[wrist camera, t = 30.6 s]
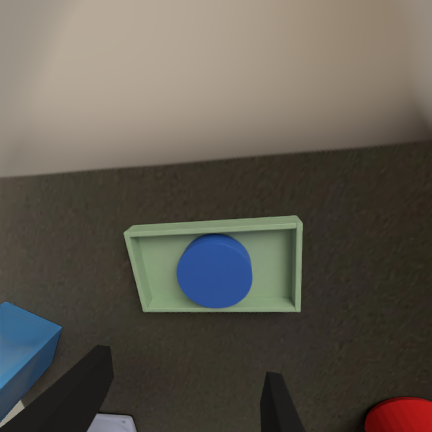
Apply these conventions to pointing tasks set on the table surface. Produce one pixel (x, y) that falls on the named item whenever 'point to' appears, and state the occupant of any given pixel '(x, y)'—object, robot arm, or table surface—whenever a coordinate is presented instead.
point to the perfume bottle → (23, 352)
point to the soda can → (400, 416)
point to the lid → (215, 271)
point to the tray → (239, 230)
